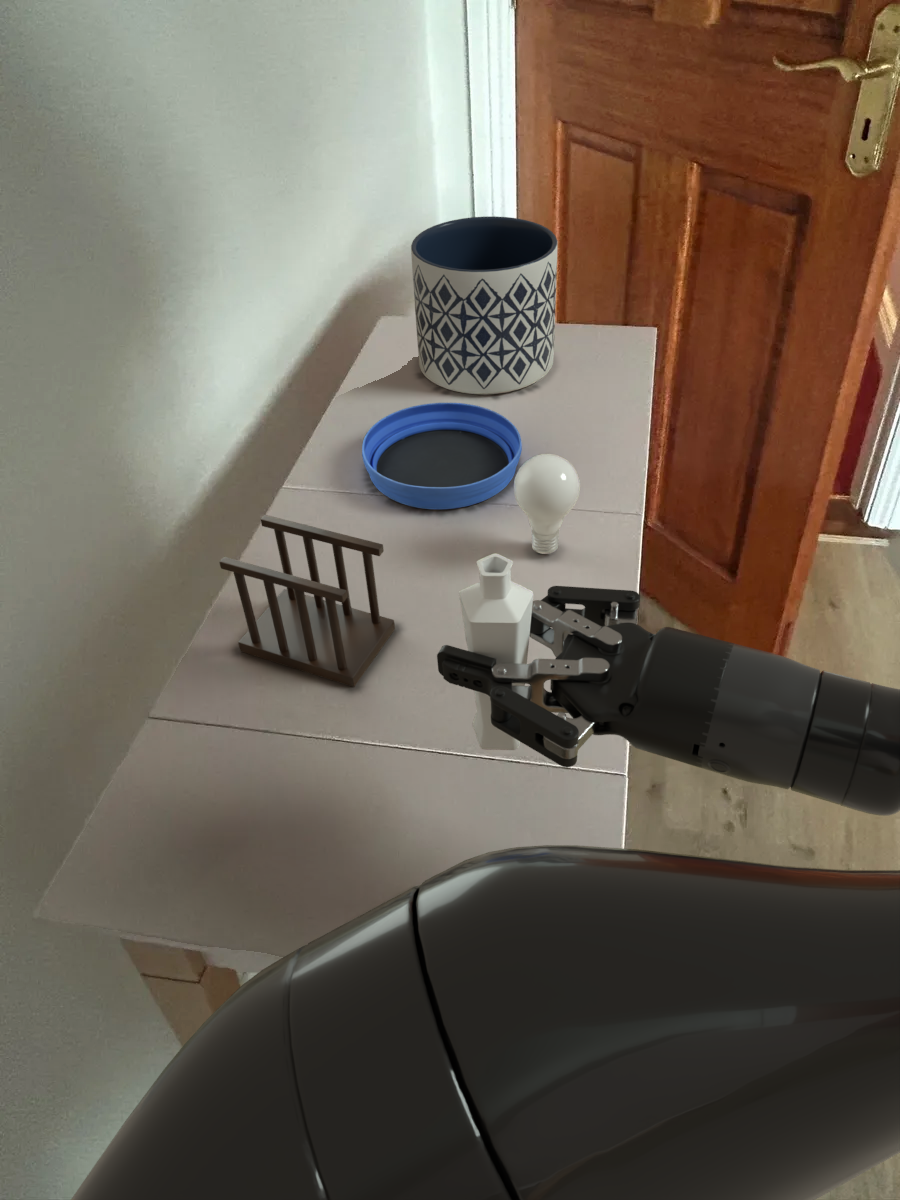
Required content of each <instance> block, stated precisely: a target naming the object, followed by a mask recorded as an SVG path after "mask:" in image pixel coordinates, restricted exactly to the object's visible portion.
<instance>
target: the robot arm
mask: <svg viewBox="0 0 900 1200" xmlns="http://www.w3.org/2000/svg"><path fill="white" fill-rule="evenodd" d="M640 602H641V595H640V594H639V592H637V591H635V590H629V589H628V590H627V589H616V588H615V589H614V588H613V589H612V588H600V587H599V588H598V587H584V586H568V585H567V586H566V585H552V586H550V587H549V588H548V589H547V594H546V596H545V597H542V599H541V600H540V599H536V600H533V604H532V615H531V625H530V636H529V638H531V639H532V640H534V641H536V642H537V643H539V644H541V645H543V646H545V647H546V648H548V649H550V650H551V652H552V653H553V656H554V657H555V658H535V659H533V660H532V661H531V662H530V663H527V664H516V663H498V664H496V659H495V658H491V657H488V656H484V655H481V654H477V653H474V652H470V651H468V649H463V648H459V647H456V646H453V645H449V644H443V645H442V646H441V647H440V648H439V651H438V652H437V654H436V660H437V671H438V673H439V675H441V676H442V678H443V680H444V681H446V682H447V683H449V684H452V685H454V686H458V687H462V688H465V689H468V690H471V691H474V690H475V691H478V692H481V693H484V694H487V695H488V696H489V697H490V701H491V723H492V725H493V726H495V727H496V728H498V729H500V730H501V731H503V732H505V733H506V734H508V735H510V736H511V737H513V738H515V739H517V740H518V741H520V742H521V744H523V745H525V746H527V748H528V747H529V748H530V749H532V750H534V751H535V752H537V753H539V754H540V755H542V756H544V757H545V758H547V759H548V760H550V761H552V762H553V763H556V764H557V765H559V766H560V767H563V768H571V767H574V766H575V765H576V763H577V761H578V754H579V750H580V749H581V747H582V746H584V744H585V743H586V742H587V741H588V740H589V739H590V738H591V737H592V736H606V735H609V736H620V737H622V738H623V739H625V740H626V741H627V742H628V743H629V744H630V745H631V746H632V747H633V748H635V749H638V750H641V751H644V752H647V753H650V754H654V755H657V756H660V757H664V758H667V759H671V760H673V761H677V762H679V763H683V764H687V765H690V766H693V767H697V768H700V769H703V770H707V771H709V772H713V773H716V774H719V775H723V776H726V777H730V778H733V779H736V780H738V781H739V780H740V781H743V782H747V783H751V784H752V783H753V784H757V785H762V786H763V785H764V786H769V787H770V786H771V787H776V788H780V789H784V790H790V791H791V792H795V793H798V794H802V795H805V796H809V797H812V798H815V799H819V800H822V801H825V802H829V803H833V804H835V805H839V806H840V807H841V806H842V807H844V808H848V809H849V810H850V809H851V810H854V811H857V812H861V813H864V814H868V815H873V816H880V817H886V816H892V815H895V814H897V813H898V812H900V688H895V687H891V686H885V685H881V684H879V683H878V684H877V683H873V682H872V683H871V682H870V681H866V680H862V679H858V678H854V677H850V676H846V675H842V674H838V673H834V672H831V671H827V670H822V671H821V670H820V669H819V668H815V667H812V666H809V665H806V664H804V663H801V662H798V661H797V660H794V659H791V658H789V657H786V656H784V655H780V654H777V653H774V652H769V651H765V650H762V649H758V648H753V647H750V646H746V645H742V644H737V643H734V642H730V641H726V640H723V639H719V638H715V637H710V636H706V635H702V634H698V633H694V632H691V631H687V630H683V629H679V628H675V627H671V626H665V627H662V628H660V629H658V631H656V633H652V632H650V631H649V630H647V629H645V628H644V627H642V626H641V625H639V624H638V620H639V610H640ZM566 605H580V606H583V607H584V608H567V607H566ZM547 681H550V687H549V688H550V689H549V690H550V691H548V690H546V689H545V683H547ZM512 683H522V684H525V686H512ZM555 713H557V714H555ZM567 714H568V715H569V716H570V717H568V716H567ZM899 1154H900V869H836V868H822V867H807V866H793V865H780V864H771V863H762V862H755V861H745V860H738V859H737V860H736V859H728V858H719V857H710V856H704V855H693V854H684V853H675V852H665V851H657V850H647V849H638V848H625V847H609V846H608V847H606V846H592V845H591V846H590V845H578V844H577V845H575V844H574V845H571V844H569V845H567V844H563V845H562V844H561V845H559V844H557V845H556V844H555V845H554V844H553V845H552V844H545V845H543V844H542V845H530V846H517V847H516V846H515V847H509V848H504V849H499V850H491V851H488V852H485V853H482V854H479V855H476V856H473V857H470V858H467V859H464V860H463V861H461V862H458V863H456V864H454V865H452V866H450V867H449V868H447V869H445V870H443V871H441V872H439V873H437V874H436V875H435V874H434V875H433V876H431V877H429V878H427V879H426V880H423V882H421V884H418V885H414V886H412V887H411V888H409V889H407V890H405V891H403V892H401V893H399V894H397V895H396V896H393V897H392V898H389V899H388V900H386V901H384V902H383V903H381V904H379V905H377V906H375V907H373V908H371V909H369V910H367V911H366V912H364V913H362V914H360V915H358V916H356V917H354V918H352V919H351V920H349V921H346V922H345V923H343V924H342V925H339V926H337V927H336V928H334V929H332V930H330V931H328V932H326V933H324V934H323V935H320V936H318V937H317V938H316V939H314V940H311V941H310V942H308V943H307V944H305V945H304V944H303V945H302V946H300V947H298V948H297V949H295V950H293V951H292V952H290V953H288V954H286V955H284V956H283V957H281V958H280V959H278V960H276V961H274V962H272V963H271V964H270V965H268V966H266V967H264V968H263V969H261V970H260V971H259V972H257V973H256V974H255V975H253V976H252V977H250V978H249V979H248V980H247V981H245V982H244V983H243V984H241V985H240V986H239V988H237V989H236V990H235V991H234V992H233V993H232V994H231V995H230V996H229V997H228V998H226V1000H225V1001H224V1002H223V1003H221V1004H220V1006H218V1008H217V1009H216V1010H214V1012H213V1013H211V1015H210V1016H209V1017H208V1018H206V1020H205V1021H204V1022H203V1023H202V1024H201V1025H200V1026H199V1028H198V1029H197V1030H196V1031H195V1032H193V1034H192V1035H191V1037H189V1038H188V1040H187V1041H186V1042H185V1043H184V1044H183V1046H181V1048H180V1049H179V1050H178V1052H177V1053H176V1054H175V1055H174V1056H173V1057H172V1059H171V1060H170V1061H169V1062H168V1064H167V1065H166V1066H165V1067H164V1068H163V1070H162V1071H161V1072H160V1074H159V1075H158V1076H157V1078H156V1079H155V1081H154V1082H153V1084H151V1086H150V1087H149V1088H148V1090H147V1091H146V1093H145V1094H144V1095H143V1097H142V1098H141V1099H140V1101H139V1102H138V1104H137V1105H136V1106H135V1107H134V1108H133V1110H132V1111H131V1113H129V1115H128V1117H127V1118H126V1119H125V1121H124V1122H123V1124H121V1126H120V1128H119V1129H118V1131H117V1132H116V1134H114V1136H113V1138H112V1139H111V1140H110V1142H109V1144H108V1145H107V1146H106V1148H105V1150H104V1151H103V1152H102V1153H101V1155H100V1157H99V1158H98V1159H97V1161H96V1162H95V1164H94V1165H93V1166H92V1168H91V1170H90V1171H89V1172H88V1174H87V1176H86V1177H85V1178H84V1179H83V1181H82V1182H81V1183H80V1186H79V1187H78V1189H76V1191H75V1193H74V1194H73V1195H72V1197H71V1199H70V1200H818V1199H820V1198H821V1197H823V1196H825V1195H826V1194H828V1193H830V1192H831V1191H834V1190H836V1189H837V1188H839V1187H841V1186H842V1185H844V1184H846V1183H848V1182H849V1181H852V1180H854V1179H856V1178H857V1177H859V1176H861V1175H863V1174H864V1173H866V1172H868V1171H869V1170H872V1169H873V1168H875V1167H877V1166H878V1165H880V1164H882V1163H884V1162H886V1161H888V1160H889V1159H891V1158H893V1157H895V1156H897V1155H899Z"/></svg>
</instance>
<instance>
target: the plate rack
mask: <svg viewBox="0 0 900 1200" xmlns="http://www.w3.org/2000/svg"><path fill="white" fill-rule="evenodd" d="M260 524H261V526H262V527H264V528H267V529H272V530H273V531H274V535H275V540H276V545H277V549H278V553H279V560H280V563H281V569H282V571H278V570H274V569H270V568H267V567H263V566H260V565H256V564H254V563H253V564H252V563H250V562H249V563H248V562H245V561H241V560H239V559H235V558H230V557H227V556H223V557H222V558H221V559H220V560H219V566H220V569H221V570H225V571H228V572H232V573H233V575H234V579H235V583H236V588H237V591H238V595H239V599H240V603H241V606H242V611H243V614H244V617H245V622H246V626H247V631H246V632H245V634H244V635H243V636H242V637H241V638H240V639H239V640H238V642H237V644H238V649H239V651H240V652H241V653H245V654H248V655H251V656H254V657H257V658H260V659H262V660H263V659H264V660H266V661H269V662H273V663H275V664H280V665H282V666H286V667H289V668H291V669H292V668H293V669H295V670H298V671H301V672H305V673H307V674H311V675H314V676H318V677H321V678H323V679H327V680H330V681H333V682H336V683H338V684H343V685H346V686H349V687H353V688H355V687H356V685H357V684H358V683H359V681H360V680H361V678H362V677H363V676H364V674H365V673H366V671H367V670H368V668H369V667H370V666H371V664H372V662H373V661H374V659H375V658H376V657H377V656H378V654H379V653H380V651H381V650H382V648H383V647H384V645H385V644H386V643H387V641H388V639H389V638H390V637H391V635H392V634H393V633H394V632H395V630H396V626H395V620H394V619H392V618H389V617H385V616H382V615H380V614H381V613H380V608H379V607H380V606H379V600H378V599H379V598H378V592H377V591H378V590H377V585H376V577H375V576H376V575H375V569H374V568H375V567H374V561H373V556H376V557H381V555H382V554H383V553H384V551H385V550H384V549H385V548H384V543H383V544H382V543H379V542H375V541H372V540H368V539H363V538H359V537H355V536H352V535H348V534H343V533H340V532H335V531H331V530H327V529H324V528H319V527H317V526H316V527H315V526H312V525H308V524H304V523H300V522H296V521H292V520H289V519H285V518H280V517H276V516H272V515H268V514H264V515H263V516H262V517H261V518H260ZM285 533H287V534H291V535H295V536H297V537H302V541H303V546H304V551H305V556H306V561H307V567H308V572H309V577H310V579H307V578H303V577H300V576H297V575H294V574H293V569H292V565H291V560H290V559H291V558H290V555H289V551H288V546H287V541H286V540H287V539H286V536H285ZM313 540H314V541H319V542H321V543H326V544H330V545H331V547H332V553H333V558H334V559H333V560H334V563H335V564H334V565H335V571H336V578H337V583H338V587H335V586H333V585H328V584H325V583H323V582H321V578H320V573H319V568H318V563H317V558H316V557H317V556H316V551H315V546H314V541H313ZM343 548H346V549H349V550H353V551H357V552H361V555H362V562H363V568H364V576H365V583H366V590H367V591H366V592H367V597H368V606H369V612H367V611H364V610H360V609H357V608H353V607H352V605H351V597H350V590H349V584H348V579H347V572H346V565H345V559H344V552H343ZM245 576H246V577H250V578H252V579H253V578H254V579H257V580H260V581H263V582H262V583H263V586H264V590H265V595H266V598H267V603H268V607H267V608H266V609H265V611H264V612H262V614H261V615H260V616H259V617H258V619H256V616H255V612H254V608H253V606H252V605H253V604H252V600H251V597H250V593H249V588H248V584H247V581H246V577H245ZM275 585H279V586H282V587H284V589H282V591H281V592H280V593H279V594H278V595H277V592H276V587H275ZM305 593H306V594H305ZM307 594H310V595H307ZM311 595H313V596H311ZM337 602H339V603H341V604H339V603H337Z"/></svg>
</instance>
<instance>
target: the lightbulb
mask: <svg viewBox="0 0 900 1200" xmlns="http://www.w3.org/2000/svg"><path fill="white" fill-rule="evenodd" d="M580 493H581V481H580V477H579V474H578V472H577V470H576V468H575V466H574V465H573V464H572V463H571V462H570V461H569V460H568V459H566V458H564V457H563V456H560V455H558V454H553V453H541V454H537V455H534V456H532V457H530V458H528V459H527V460H526V461H524V463H522V465H520V468H519V469H518V470H517V472H516V474H515V476H514V481H513V494H514V498H515V501H516V503H517V505H518V506H519V508H520V509H521V511H523V513H524V514H525V515H526V517H527V519H528V523H529V526H530V528H531V548H532V550H533V551H534V552H536V553H538V554H541V555H550V554H553V553H554V552H556V551H557V550H558V548H559V537H560V536H559V534H560V529H561V528H562V525H563V522H564V519H565V517H566V516H567V515H568V514H569V513H570V512H571V511H572V510H573V508H574V507H575V505H576V503H577V502H578V500H579V496H580Z"/></svg>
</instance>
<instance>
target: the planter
mask: <svg viewBox="0 0 900 1200" xmlns="http://www.w3.org/2000/svg"><path fill="white" fill-rule="evenodd" d="M558 243H559V242H558V238H557V236H556V235H555V233H554V232H553V231H552V230H550V229H549V228H548V227H546V226H544V225H542V224H539V223H537V222H534V221H531V220H528V219H527V220H526V219H522V218H517V217H508V216H493V215H492V216H471V217H463V218H458V219H453V220H448V221H444V222H440V223H438V224H435V225H433V226H430V227H428V228H426V229H425V230H423V231H421V232H420V233H418V234H417V235H416V236H415V237H414V239H413V240H412V242H411V244H410V252H411V255H410V256H411V269H412V270H411V271H412V272H411V273H412V285H413V286H412V287H413V298H414V300H413V301H414V312H415V313H414V314H415V326H416V340H417V341H416V342H417V354H418V366H419V369H420V372H421V373H422V374H423V376H425V378H427V379H428V380H429V381H430V382H432V383H434V384H435V385H437V386H439V387H441V388H443V389H446V390H449V391H452V392H453V391H454V392H456V393H462V394H468V395H499V394H505V393H510V392H514V391H519V390H521V389H524V388H526V387H529V386H531V385H533V384H535V383H537V382H538V381H540V380H542V379H543V378H544V377H545V376H546V375H548V373H549V372H550V371H551V369H552V367H553V365H554V359H555V338H556V337H555V333H556V308H557V307H556V306H557V305H556V304H557V280H558V279H557V278H558Z"/></svg>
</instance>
